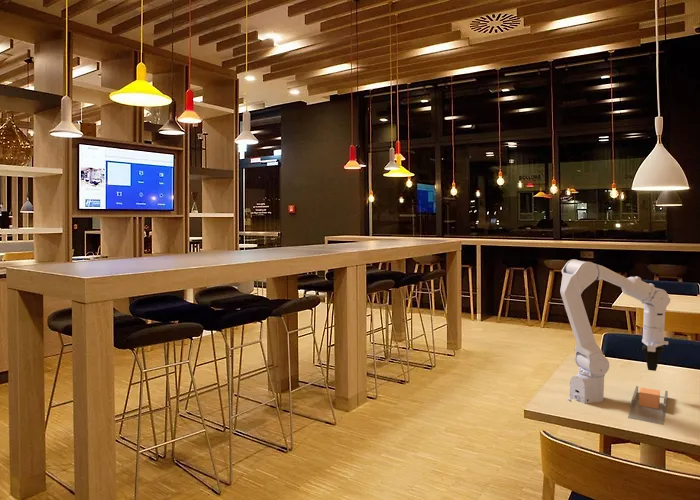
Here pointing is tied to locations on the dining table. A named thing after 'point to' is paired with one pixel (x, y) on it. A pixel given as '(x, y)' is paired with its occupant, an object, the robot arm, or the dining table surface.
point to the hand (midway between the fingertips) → (652, 369)
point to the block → (649, 398)
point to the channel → (647, 410)
